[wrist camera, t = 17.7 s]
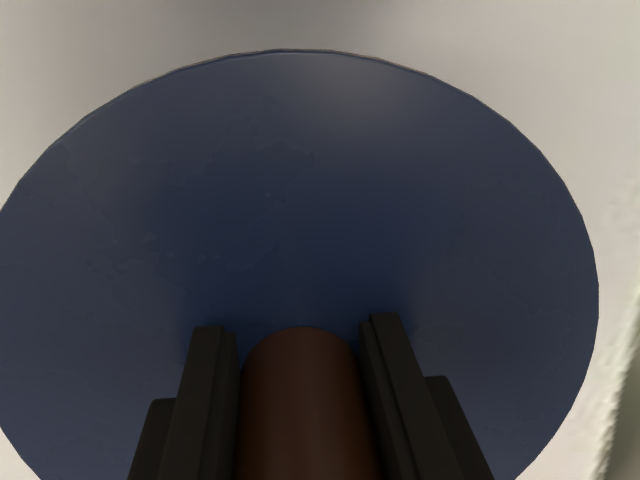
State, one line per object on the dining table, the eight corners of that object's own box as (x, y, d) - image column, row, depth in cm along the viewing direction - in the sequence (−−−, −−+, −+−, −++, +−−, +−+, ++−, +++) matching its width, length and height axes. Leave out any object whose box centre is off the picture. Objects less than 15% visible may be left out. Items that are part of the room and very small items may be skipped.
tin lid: (-98, 61, 8) (-656, 151, 3) (626, 30, 9) (1062, 63, 4) (78, 551, 14) (-37, 874, 9) (530, 506, 14) (669, 778, 9)
